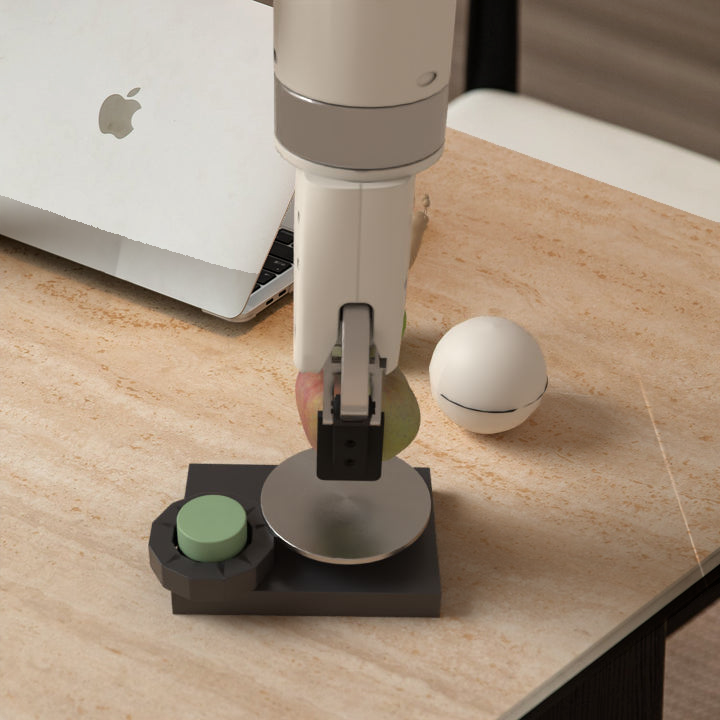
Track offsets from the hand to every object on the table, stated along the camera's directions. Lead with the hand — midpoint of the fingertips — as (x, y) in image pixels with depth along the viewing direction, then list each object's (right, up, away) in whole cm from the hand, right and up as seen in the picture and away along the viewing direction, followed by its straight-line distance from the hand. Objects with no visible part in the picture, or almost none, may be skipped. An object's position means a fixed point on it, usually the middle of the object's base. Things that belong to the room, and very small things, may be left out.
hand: (348, 430), depth 64 cm
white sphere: (+9, -1, +14) cm, 17 cm away
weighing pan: (0, -4, +3) cm, 5 cm away
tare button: (-7, -6, +1) cm, 9 cm away
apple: (0, -1, +1) cm, 1 cm away
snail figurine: (+1, +4, +21) cm, 21 cm away
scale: (-2, -7, +5) cm, 9 cm away
